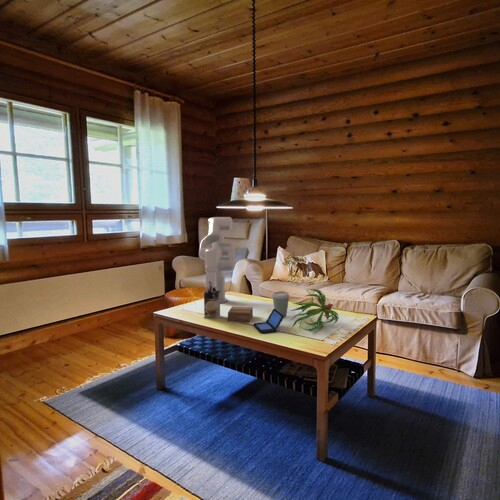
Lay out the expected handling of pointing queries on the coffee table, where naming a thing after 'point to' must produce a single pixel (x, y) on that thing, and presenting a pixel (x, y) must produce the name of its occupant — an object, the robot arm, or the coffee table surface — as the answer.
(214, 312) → the coffee box
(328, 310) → the decorative plant
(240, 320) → the walnut block
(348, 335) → the coffee table surface
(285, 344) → the coffee table surface
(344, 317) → the coffee table surface
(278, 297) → the disposable coffee cup
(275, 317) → the handheld game console
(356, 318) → the coffee table surface
